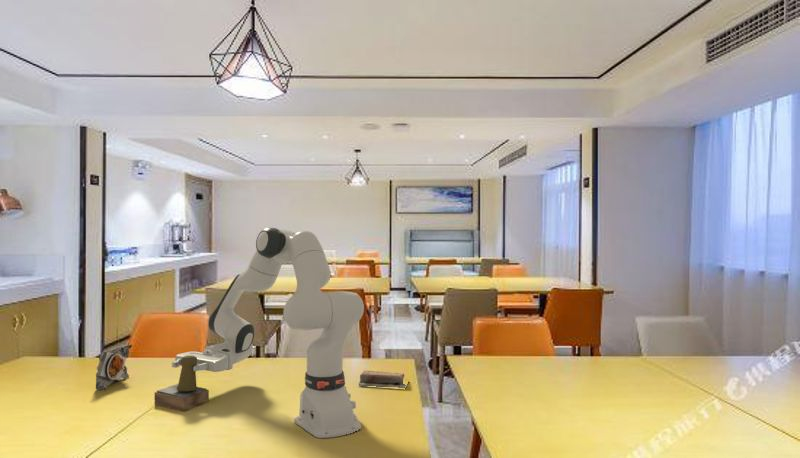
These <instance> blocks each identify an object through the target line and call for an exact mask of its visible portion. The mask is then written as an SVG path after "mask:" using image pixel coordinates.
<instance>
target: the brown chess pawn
mask: <svg viewBox="0 0 800 458" xmlns="http://www.w3.org/2000/svg"><path fill="white" fill-rule="evenodd" d="M196 364H197V358H196V357H195V356H184V357H182V358H181V365H182V366H181V369H180V373H179V380H178V383H177V384H178V388H177V390H178V391H193V390H196V389H197V387H198V386H197V375H196V374H197V373H196V372H197V371H192V366H194V365H196Z"/></svg>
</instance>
